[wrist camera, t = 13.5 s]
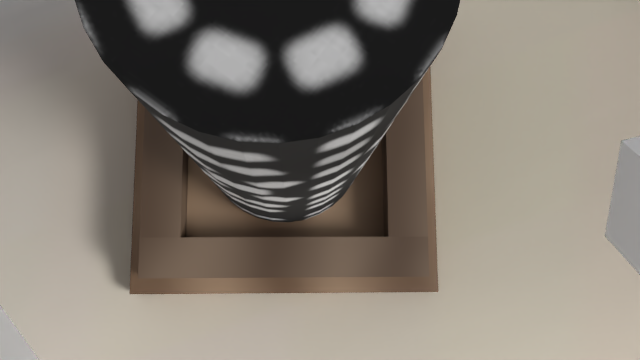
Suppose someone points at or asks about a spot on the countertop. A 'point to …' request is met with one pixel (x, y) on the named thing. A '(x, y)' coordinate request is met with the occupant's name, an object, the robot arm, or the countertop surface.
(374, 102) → the white-spotted black cylinder
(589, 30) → the countertop surface
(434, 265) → the walnut board
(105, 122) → the countertop surface
